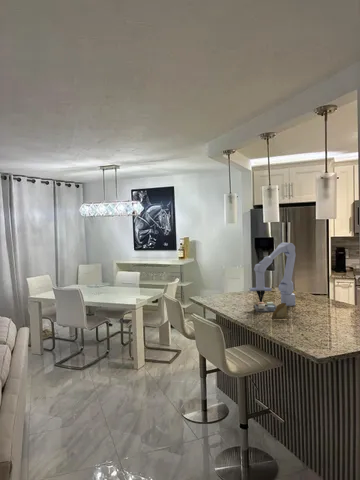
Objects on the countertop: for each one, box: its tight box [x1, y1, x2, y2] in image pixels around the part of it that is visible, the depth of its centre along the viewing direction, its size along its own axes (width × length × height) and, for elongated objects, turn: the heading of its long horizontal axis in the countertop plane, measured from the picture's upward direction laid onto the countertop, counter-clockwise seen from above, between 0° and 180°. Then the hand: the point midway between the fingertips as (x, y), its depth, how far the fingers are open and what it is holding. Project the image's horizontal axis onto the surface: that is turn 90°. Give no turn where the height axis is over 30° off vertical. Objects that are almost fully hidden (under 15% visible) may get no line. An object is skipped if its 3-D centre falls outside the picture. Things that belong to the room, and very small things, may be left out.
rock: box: [271, 302, 288, 321], centre depth 218 cm, size 11×9×10 cm
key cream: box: [257, 303, 266, 309], centre depth 236 cm, size 4×4×2 cm
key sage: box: [266, 301, 274, 306], centre depth 241 cm, size 4×4×2 cm
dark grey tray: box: [253, 303, 277, 313], centre depth 239 cm, size 14×18×2 cm
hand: (260, 301), depth 242 cm, fingers closed
